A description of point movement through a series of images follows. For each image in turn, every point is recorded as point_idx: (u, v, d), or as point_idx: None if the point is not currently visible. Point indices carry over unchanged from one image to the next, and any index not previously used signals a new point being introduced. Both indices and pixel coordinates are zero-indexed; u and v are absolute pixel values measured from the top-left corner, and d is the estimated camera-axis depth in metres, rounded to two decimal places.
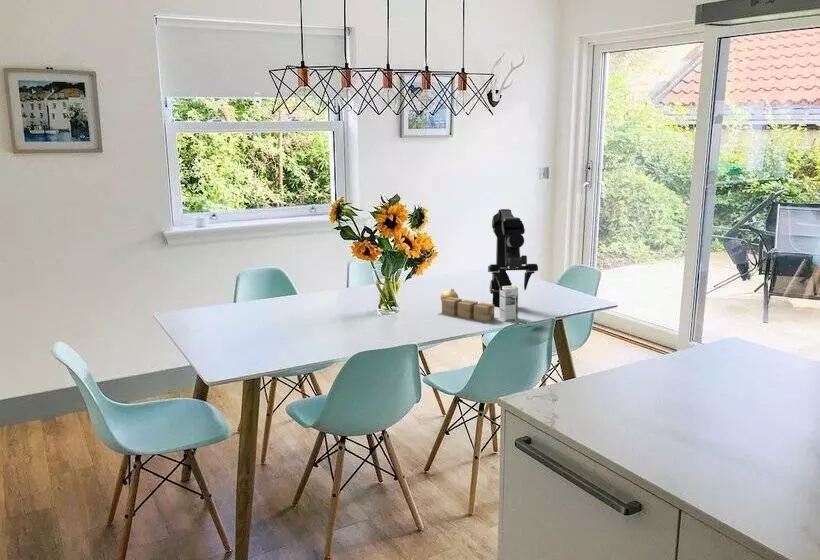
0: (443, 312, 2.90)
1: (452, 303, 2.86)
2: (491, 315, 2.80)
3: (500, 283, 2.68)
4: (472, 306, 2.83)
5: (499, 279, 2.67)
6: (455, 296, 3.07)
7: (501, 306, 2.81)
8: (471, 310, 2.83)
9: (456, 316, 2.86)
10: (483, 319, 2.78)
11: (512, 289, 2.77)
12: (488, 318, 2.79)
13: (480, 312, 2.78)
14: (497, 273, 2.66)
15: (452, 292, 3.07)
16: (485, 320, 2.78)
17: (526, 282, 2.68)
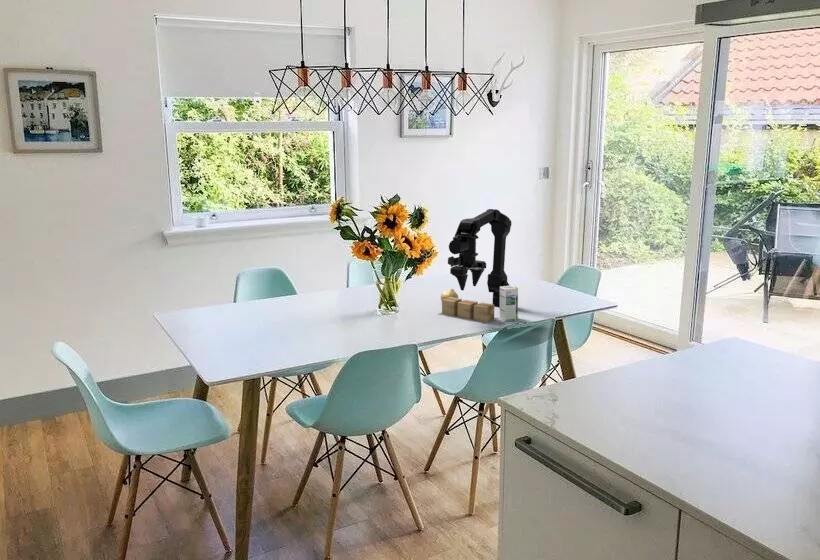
0: (443, 312, 2.90)
1: (452, 303, 2.86)
2: (491, 315, 2.80)
3: None
4: (472, 306, 2.83)
5: None
6: (455, 296, 3.07)
7: (501, 306, 2.81)
8: (471, 310, 2.83)
9: (456, 316, 2.86)
10: (483, 319, 2.78)
11: (512, 289, 2.77)
12: (488, 318, 2.79)
13: (480, 312, 2.78)
14: None
15: (452, 292, 3.07)
16: (485, 320, 2.78)
17: None
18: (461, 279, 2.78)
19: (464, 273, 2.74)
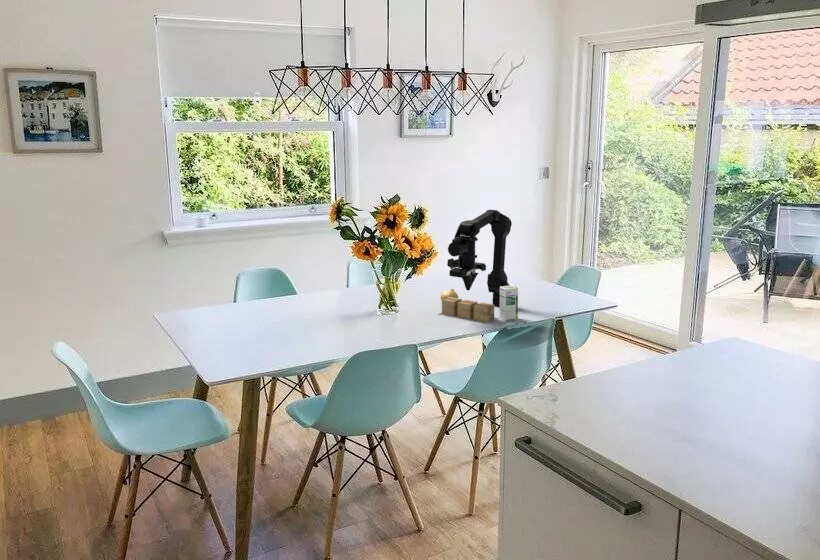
0: (443, 312, 2.90)
1: (452, 303, 2.86)
2: (491, 315, 2.80)
3: None
4: (472, 306, 2.83)
5: None
6: (455, 296, 3.07)
7: (501, 306, 2.81)
8: (471, 310, 2.83)
9: (456, 316, 2.86)
10: (483, 319, 2.78)
11: (512, 289, 2.77)
12: (488, 318, 2.79)
13: (480, 312, 2.78)
14: None
15: (452, 292, 3.07)
16: (485, 320, 2.78)
17: None
18: (466, 279, 2.82)
19: (463, 275, 2.75)
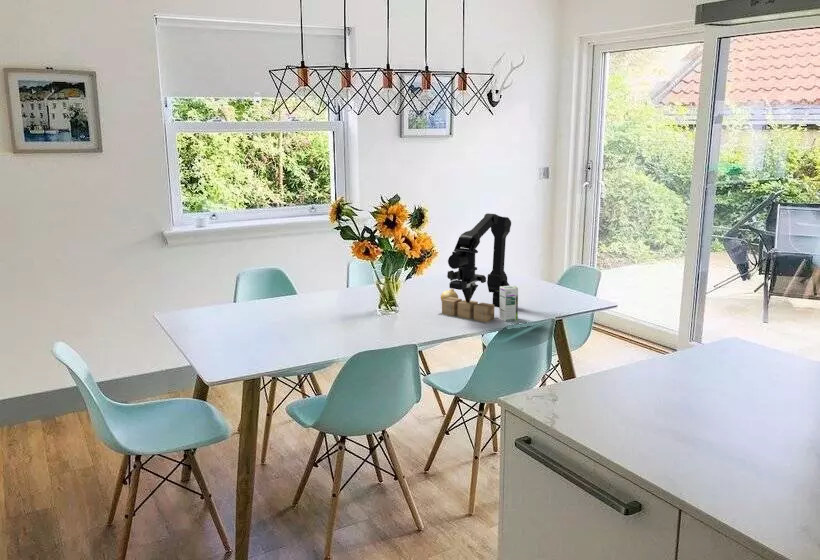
0: (443, 312, 2.90)
1: (452, 303, 2.86)
2: (491, 315, 2.80)
3: None
4: (472, 306, 2.83)
5: None
6: (455, 296, 3.07)
7: (501, 306, 2.81)
8: (471, 310, 2.83)
9: (456, 316, 2.86)
10: (483, 319, 2.78)
11: (512, 289, 2.77)
12: (488, 318, 2.79)
13: (480, 312, 2.78)
14: None
15: (452, 292, 3.07)
16: (485, 320, 2.78)
17: None
18: (466, 291, 2.83)
19: (463, 287, 2.76)
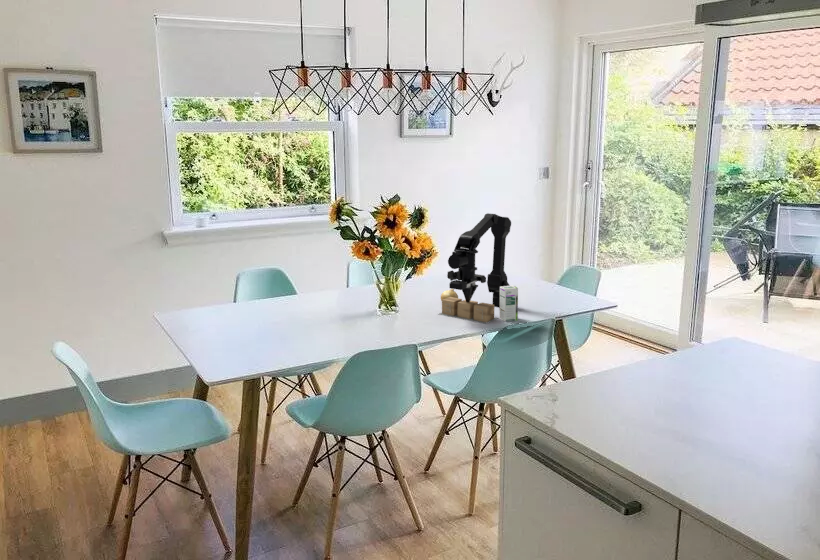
0: (443, 312, 2.90)
1: (452, 303, 2.86)
2: (491, 315, 2.80)
3: None
4: (472, 306, 2.83)
5: None
6: (455, 296, 3.07)
7: (501, 306, 2.81)
8: (471, 310, 2.83)
9: (456, 316, 2.86)
10: (483, 319, 2.78)
11: (512, 289, 2.77)
12: (488, 318, 2.79)
13: (480, 312, 2.78)
14: None
15: (452, 292, 3.07)
16: (485, 320, 2.78)
17: None
18: (466, 291, 2.83)
19: (463, 288, 2.76)
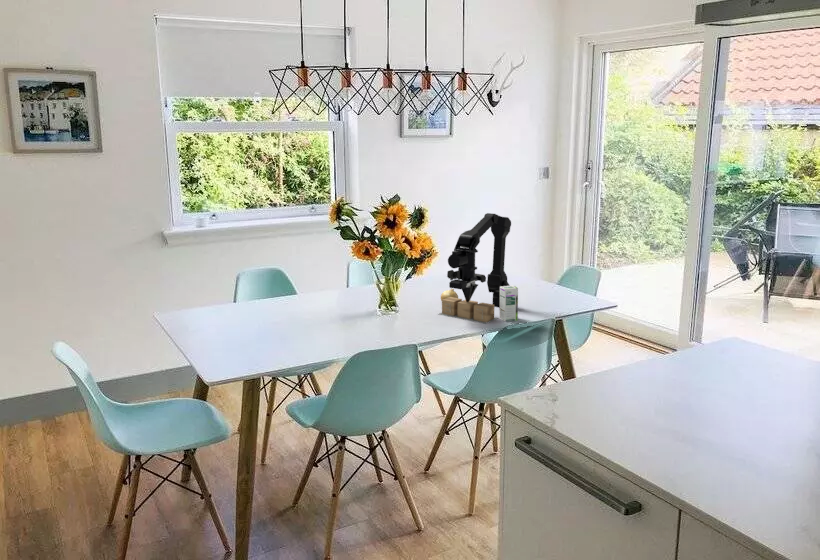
0: (443, 312, 2.90)
1: (452, 303, 2.86)
2: (491, 315, 2.80)
3: None
4: (472, 306, 2.83)
5: None
6: (455, 296, 3.07)
7: (501, 306, 2.81)
8: (471, 310, 2.83)
9: (456, 316, 2.86)
10: (483, 319, 2.78)
11: (512, 289, 2.77)
12: (488, 318, 2.79)
13: (480, 312, 2.78)
14: None
15: (452, 292, 3.07)
16: (485, 320, 2.78)
17: None
18: (466, 291, 2.83)
19: (463, 287, 2.76)
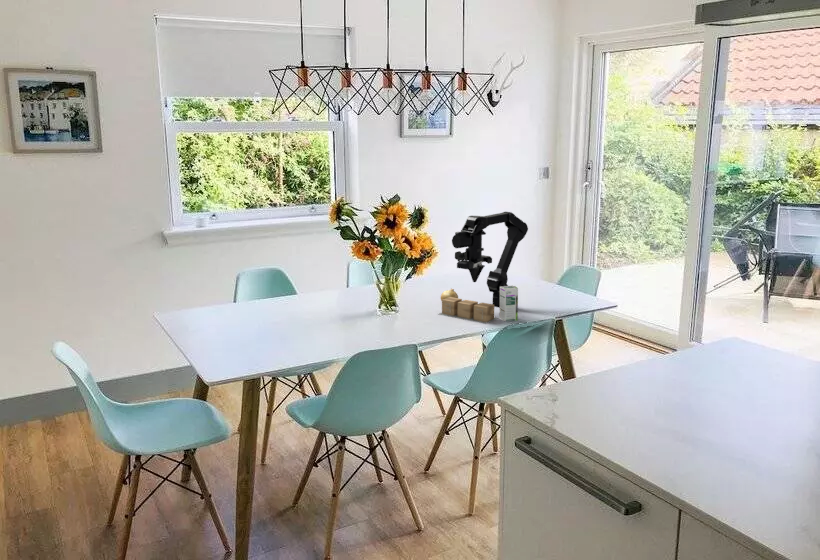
0: (443, 312, 2.90)
1: (452, 303, 2.86)
2: (491, 315, 2.80)
3: None
4: (472, 306, 2.83)
5: None
6: (455, 296, 3.07)
7: (501, 306, 2.81)
8: (471, 310, 2.83)
9: (456, 316, 2.86)
10: (483, 319, 2.78)
11: (512, 289, 2.77)
12: (488, 318, 2.79)
13: (480, 312, 2.78)
14: None
15: (452, 292, 3.07)
16: (485, 320, 2.78)
17: None
18: (473, 271, 2.92)
19: (470, 267, 2.85)
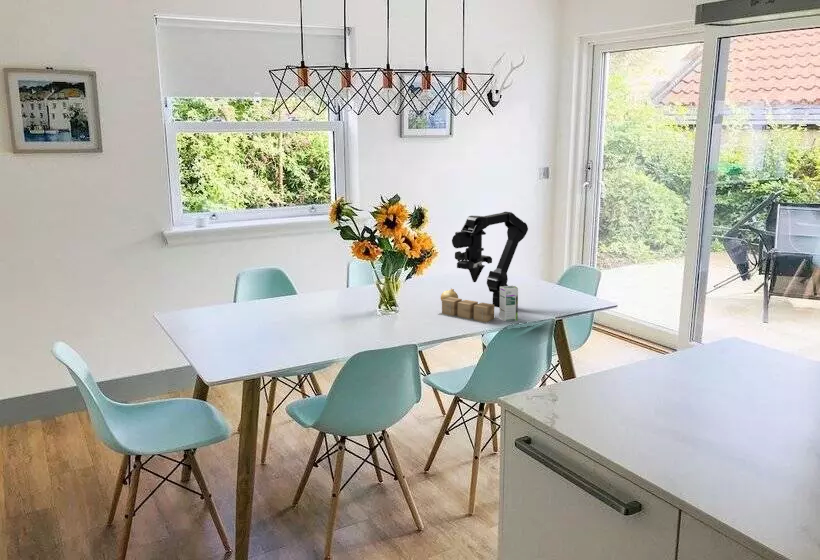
0: (443, 312, 2.90)
1: (452, 303, 2.86)
2: (491, 315, 2.80)
3: None
4: (472, 306, 2.83)
5: None
6: (455, 296, 3.07)
7: (501, 306, 2.81)
8: (471, 310, 2.83)
9: (456, 316, 2.86)
10: (483, 319, 2.78)
11: (512, 289, 2.77)
12: (488, 318, 2.79)
13: (480, 312, 2.78)
14: None
15: (452, 292, 3.07)
16: (485, 320, 2.78)
17: None
18: (473, 271, 2.92)
19: (470, 267, 2.85)
